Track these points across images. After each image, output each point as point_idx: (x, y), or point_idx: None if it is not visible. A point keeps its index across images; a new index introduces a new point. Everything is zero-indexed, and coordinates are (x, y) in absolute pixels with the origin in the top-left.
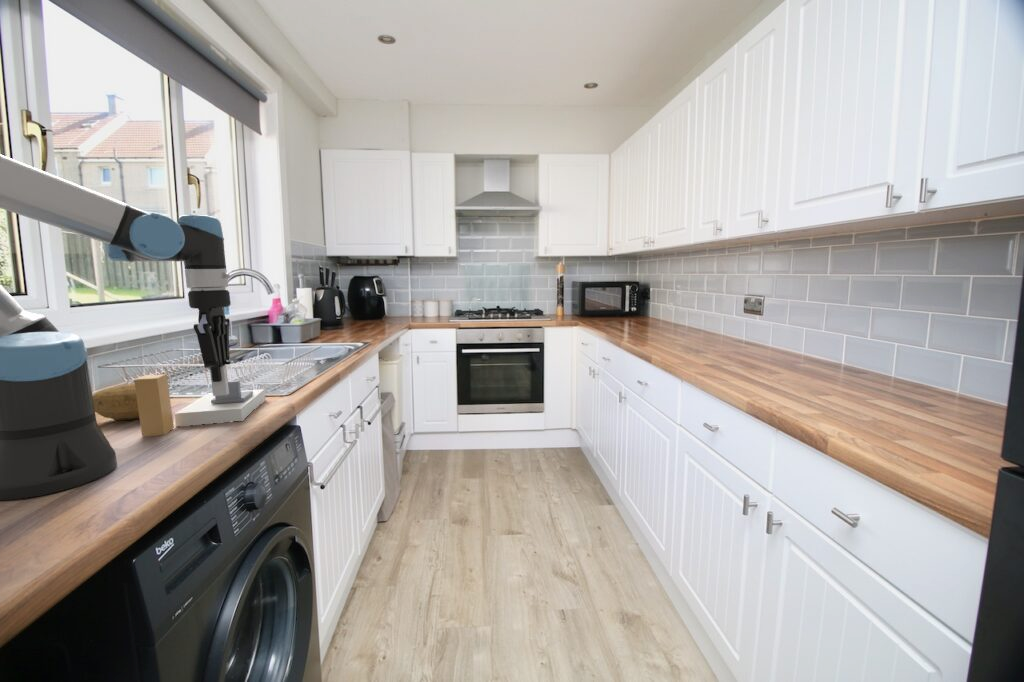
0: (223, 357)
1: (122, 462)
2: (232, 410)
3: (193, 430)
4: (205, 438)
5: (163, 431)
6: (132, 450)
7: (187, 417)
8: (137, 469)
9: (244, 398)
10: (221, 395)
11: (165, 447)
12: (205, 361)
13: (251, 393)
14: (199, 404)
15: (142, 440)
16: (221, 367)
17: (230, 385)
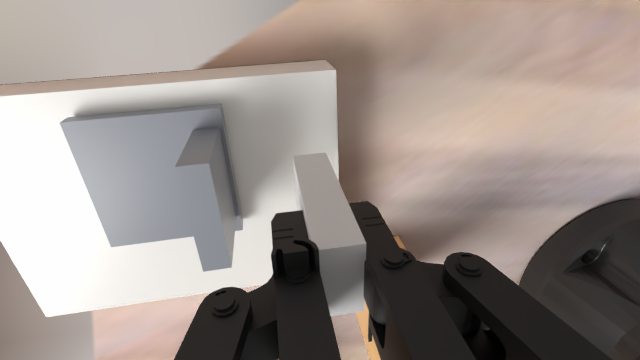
0: (328, 310)
1: (570, 212)
2: (335, 103)
3: (382, 181)
4: (479, 107)
5: (401, 242)
6: (495, 237)
7: None
8: (636, 157)
9: (206, 108)
10: (231, 205)
11: (509, 177)
12: (493, 333)
13: (89, 117)
14: (235, 259)
15: (426, 258)
16: (364, 251)
17: (218, 190)
